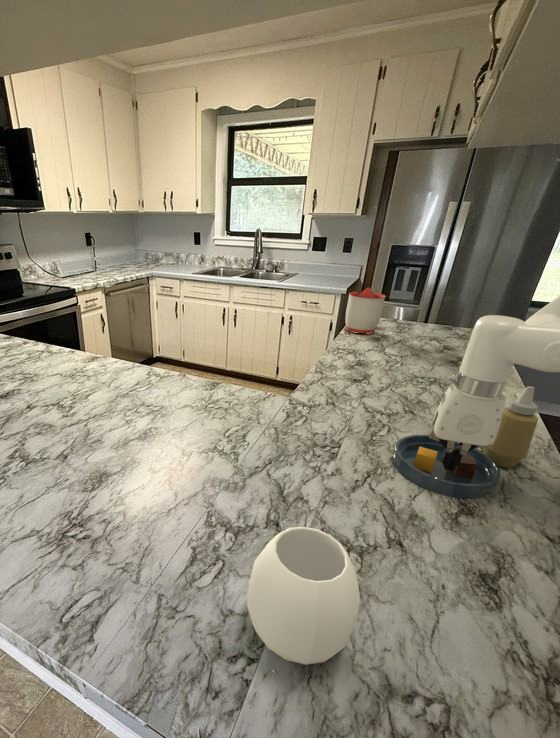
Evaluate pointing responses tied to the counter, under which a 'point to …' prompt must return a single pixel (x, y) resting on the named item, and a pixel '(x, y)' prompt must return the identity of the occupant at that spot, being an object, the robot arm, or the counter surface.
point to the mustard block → (425, 459)
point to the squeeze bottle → (514, 431)
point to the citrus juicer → (364, 311)
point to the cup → (304, 595)
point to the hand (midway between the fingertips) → (447, 466)
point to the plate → (442, 478)
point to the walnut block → (465, 467)
